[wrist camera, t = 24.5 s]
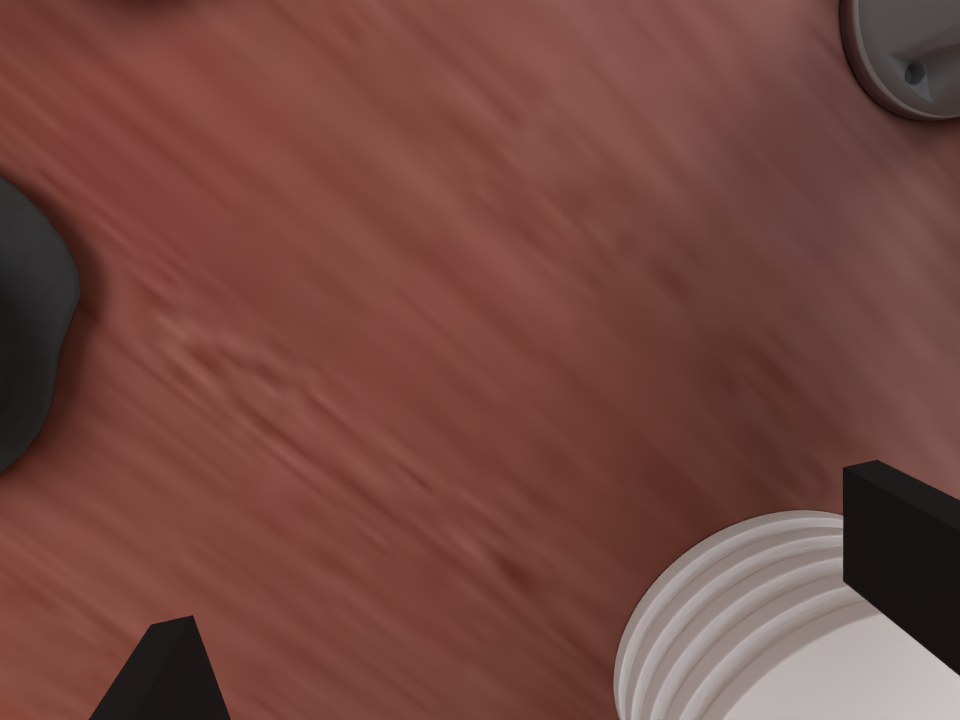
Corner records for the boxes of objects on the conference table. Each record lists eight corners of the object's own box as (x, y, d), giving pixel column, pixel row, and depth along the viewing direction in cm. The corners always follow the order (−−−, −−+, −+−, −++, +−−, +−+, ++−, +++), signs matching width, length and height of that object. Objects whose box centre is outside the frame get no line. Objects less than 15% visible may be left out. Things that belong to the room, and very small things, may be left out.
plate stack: (643, 825, 49) (710, 997, 38) (583, 568, 42) (645, 689, 31) (923, 730, 51) (1064, 868, 40) (911, 468, 44) (1080, 549, 33)
